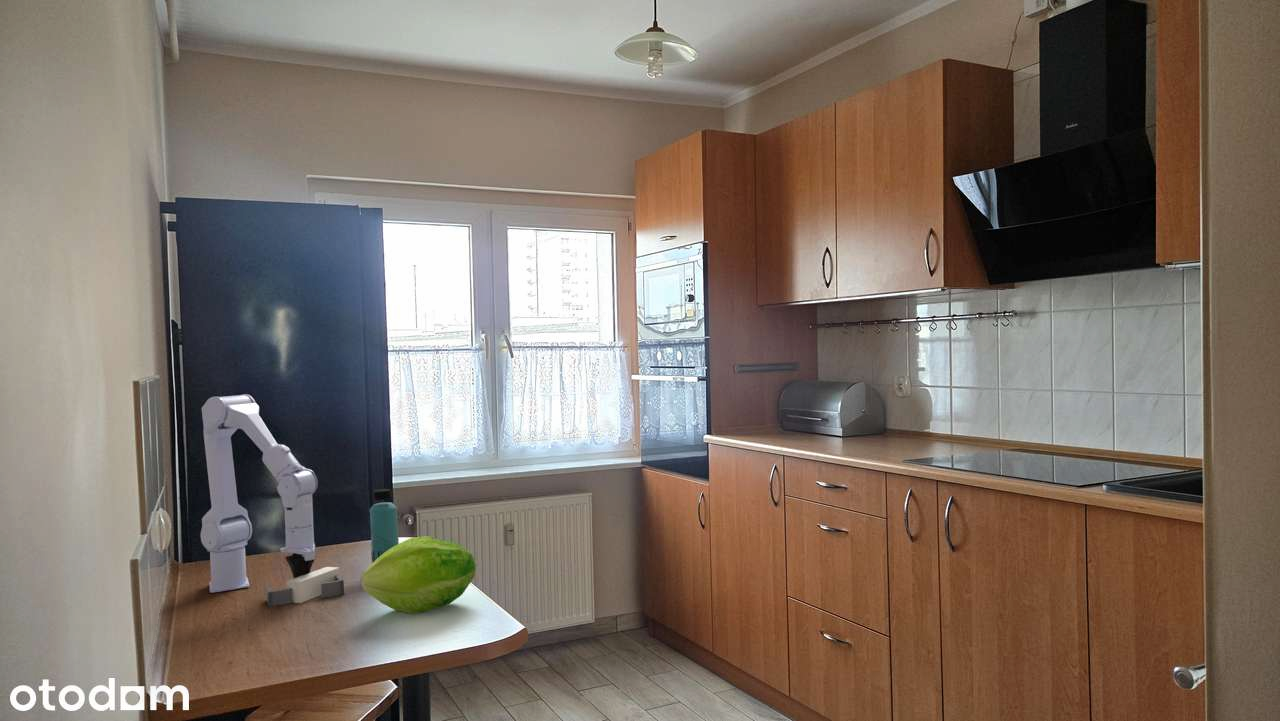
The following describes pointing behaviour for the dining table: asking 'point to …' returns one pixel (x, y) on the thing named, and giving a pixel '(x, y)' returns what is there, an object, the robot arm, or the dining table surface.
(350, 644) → the dining table surface
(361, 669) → the dining table surface
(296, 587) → the cream rectangular block
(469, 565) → the green papaya
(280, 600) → the end cap
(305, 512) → the robot arm
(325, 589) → the end cap
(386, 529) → the beverage bottle
